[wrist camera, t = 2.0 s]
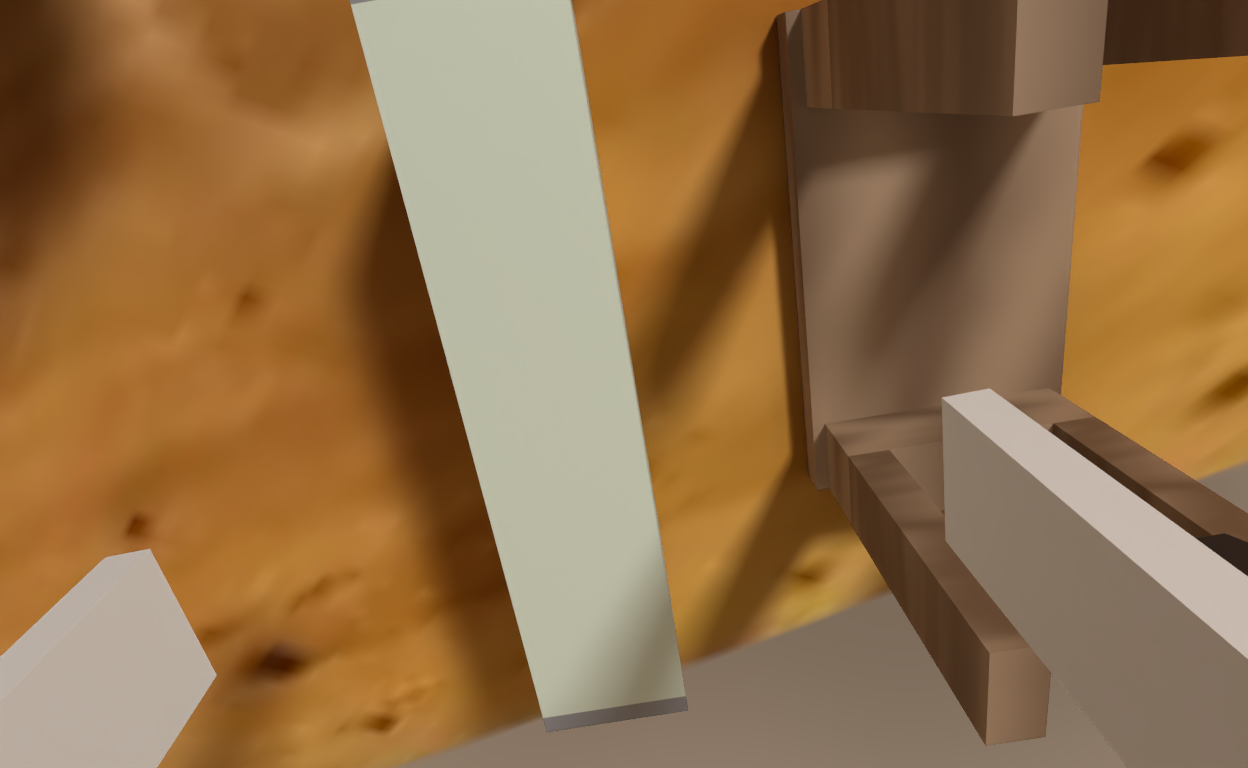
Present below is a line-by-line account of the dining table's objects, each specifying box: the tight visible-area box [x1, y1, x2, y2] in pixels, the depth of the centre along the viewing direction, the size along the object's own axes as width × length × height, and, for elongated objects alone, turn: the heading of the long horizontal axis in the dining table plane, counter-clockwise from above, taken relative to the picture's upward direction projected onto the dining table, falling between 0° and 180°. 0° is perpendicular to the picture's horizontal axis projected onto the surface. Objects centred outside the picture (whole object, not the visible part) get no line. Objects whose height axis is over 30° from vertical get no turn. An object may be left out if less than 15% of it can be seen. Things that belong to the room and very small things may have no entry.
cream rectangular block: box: [350, 0, 688, 732], centre depth 23 cm, size 4×21×10 cm, turn 9°
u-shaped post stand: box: [777, 0, 1248, 746], centre depth 21 cm, size 10×18×14 cm, turn 9°
